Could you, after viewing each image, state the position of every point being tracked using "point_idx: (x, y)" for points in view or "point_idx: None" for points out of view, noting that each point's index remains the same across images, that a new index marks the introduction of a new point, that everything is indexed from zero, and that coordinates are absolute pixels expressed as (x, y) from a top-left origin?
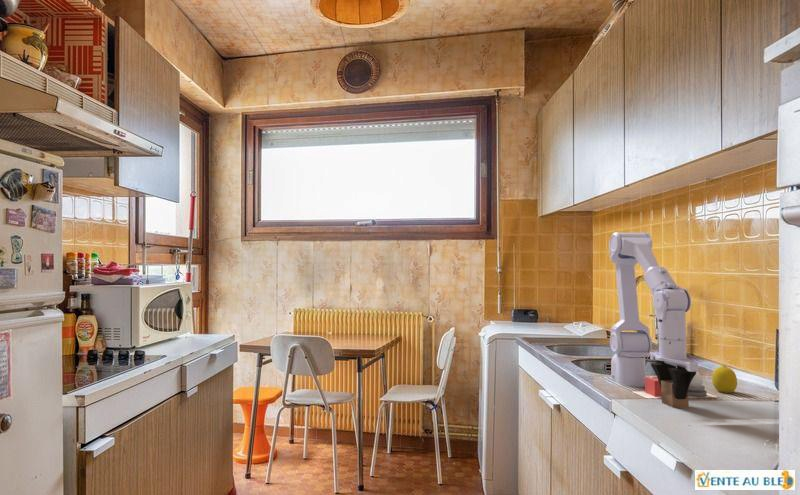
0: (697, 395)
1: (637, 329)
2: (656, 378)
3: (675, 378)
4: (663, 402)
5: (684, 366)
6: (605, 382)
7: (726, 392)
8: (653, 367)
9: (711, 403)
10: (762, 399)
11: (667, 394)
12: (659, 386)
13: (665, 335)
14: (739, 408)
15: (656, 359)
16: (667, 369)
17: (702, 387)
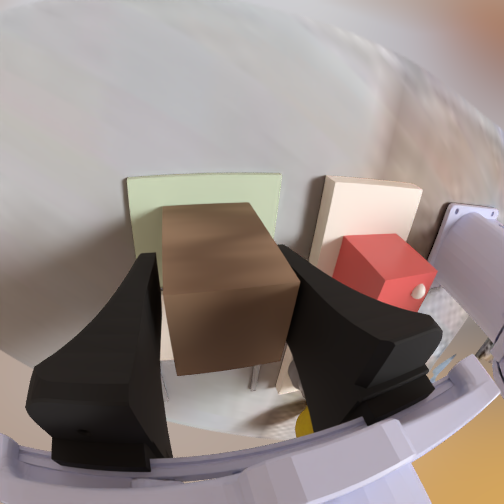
0: (293, 365)
1: None
2: (404, 306)
3: (82, 337)
4: (239, 210)
5: (77, 476)
6: (498, 202)
7: (302, 411)
8: (403, 317)
9: (259, 370)
10: (266, 432)
11: (208, 238)
12: (361, 283)
13: None
14: (206, 398)
15: (351, 440)
16: (325, 384)
17: (304, 395)
